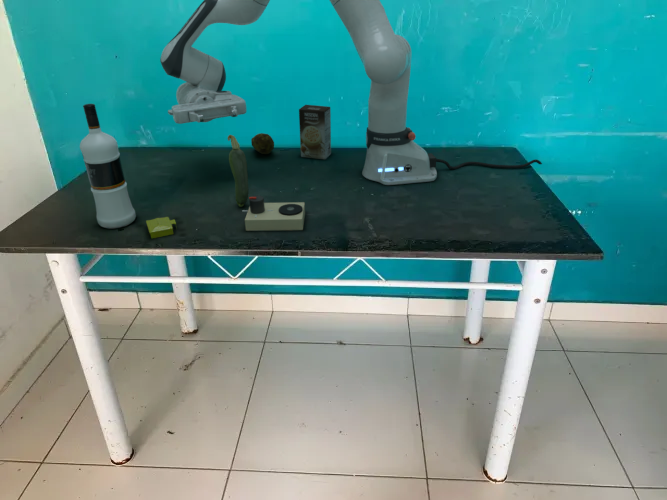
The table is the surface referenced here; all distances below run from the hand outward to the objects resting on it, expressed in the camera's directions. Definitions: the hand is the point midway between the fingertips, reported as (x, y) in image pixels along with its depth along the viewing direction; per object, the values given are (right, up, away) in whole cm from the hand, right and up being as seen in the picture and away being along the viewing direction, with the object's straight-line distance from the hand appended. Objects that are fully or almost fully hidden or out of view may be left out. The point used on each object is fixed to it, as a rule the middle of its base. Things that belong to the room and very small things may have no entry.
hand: (218, 116), depth 139 cm
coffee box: (+25, -4, +37) cm, 45 cm away
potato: (+7, -3, +39) cm, 40 cm away
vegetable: (+6, -24, +1) cm, 25 cm away
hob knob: (+12, -26, -8) cm, 29 cm away
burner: (+20, -26, -8) cm, 34 cm away
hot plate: (+16, -28, -7) cm, 33 cm away
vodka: (-25, -29, -5) cm, 38 cm away
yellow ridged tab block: (-12, -31, -10) cm, 34 cm away
